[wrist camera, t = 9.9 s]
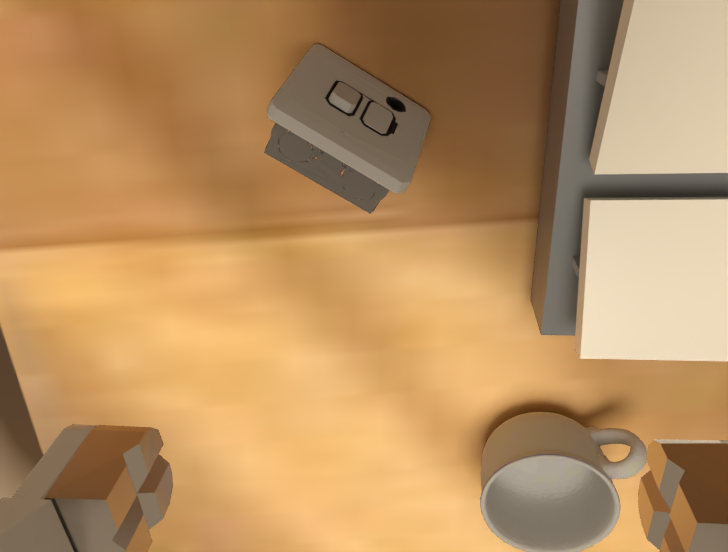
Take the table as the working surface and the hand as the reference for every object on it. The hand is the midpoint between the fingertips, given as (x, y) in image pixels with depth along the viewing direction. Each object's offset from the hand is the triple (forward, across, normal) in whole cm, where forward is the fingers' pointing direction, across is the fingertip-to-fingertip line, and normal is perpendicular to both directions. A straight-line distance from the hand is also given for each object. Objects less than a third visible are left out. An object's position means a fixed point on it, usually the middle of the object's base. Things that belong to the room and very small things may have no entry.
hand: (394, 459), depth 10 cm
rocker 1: (+27, -16, 0) cm, 32 cm away
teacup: (+34, -11, +32) cm, 48 cm away
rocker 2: (+27, -16, +12) cm, 34 cm away
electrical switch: (+35, +4, +3) cm, 35 cm away
